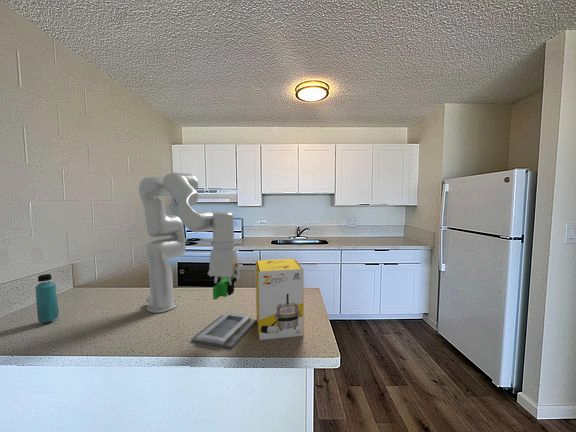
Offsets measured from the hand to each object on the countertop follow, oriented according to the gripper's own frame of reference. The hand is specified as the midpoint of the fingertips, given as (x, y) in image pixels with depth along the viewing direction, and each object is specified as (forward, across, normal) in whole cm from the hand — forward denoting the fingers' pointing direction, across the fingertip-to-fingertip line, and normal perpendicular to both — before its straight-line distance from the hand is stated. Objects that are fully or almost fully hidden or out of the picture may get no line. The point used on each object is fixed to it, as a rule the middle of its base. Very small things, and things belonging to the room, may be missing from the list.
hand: (225, 292), depth 100 cm
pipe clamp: (0, 0, 0) cm, 1 cm away
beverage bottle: (+15, -74, -16) cm, 77 cm away
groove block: (+15, 0, 0) cm, 15 cm away
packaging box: (+15, +18, +9) cm, 25 cm away
